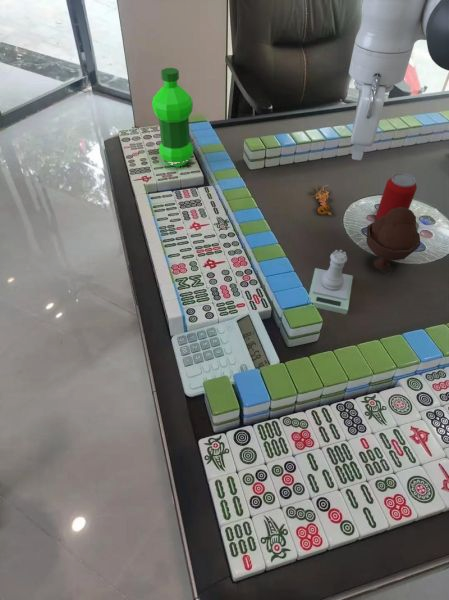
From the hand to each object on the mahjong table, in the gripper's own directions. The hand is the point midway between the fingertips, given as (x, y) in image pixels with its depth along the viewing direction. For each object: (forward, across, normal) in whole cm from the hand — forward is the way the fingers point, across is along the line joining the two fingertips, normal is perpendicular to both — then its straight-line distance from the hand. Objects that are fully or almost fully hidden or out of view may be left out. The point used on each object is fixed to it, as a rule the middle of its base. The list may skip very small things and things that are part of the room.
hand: (358, 145), depth 79 cm
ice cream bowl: (+27, -1, -11) cm, 29 cm away
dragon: (+27, +19, +5) cm, 33 cm away
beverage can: (+27, +17, -12) cm, 34 cm away
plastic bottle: (+27, +28, +48) cm, 61 cm away
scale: (+27, -13, -1) cm, 30 cm away
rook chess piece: (+24, -12, -1) cm, 27 cm away
